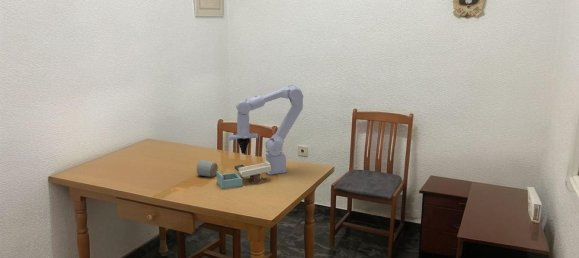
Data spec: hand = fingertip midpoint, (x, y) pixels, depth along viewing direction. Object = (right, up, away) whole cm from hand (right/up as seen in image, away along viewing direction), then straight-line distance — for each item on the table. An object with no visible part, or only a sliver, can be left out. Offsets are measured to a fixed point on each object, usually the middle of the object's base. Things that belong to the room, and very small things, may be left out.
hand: (243, 153), depth 241 cm
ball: (-6, -12, -13) cm, 19 cm away
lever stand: (+6, -13, -8) cm, 16 cm away
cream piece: (+5, -7, -5) cm, 10 cm away
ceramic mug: (-17, -11, +1) cm, 20 cm away
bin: (-5, -14, -12) cm, 19 cm away
